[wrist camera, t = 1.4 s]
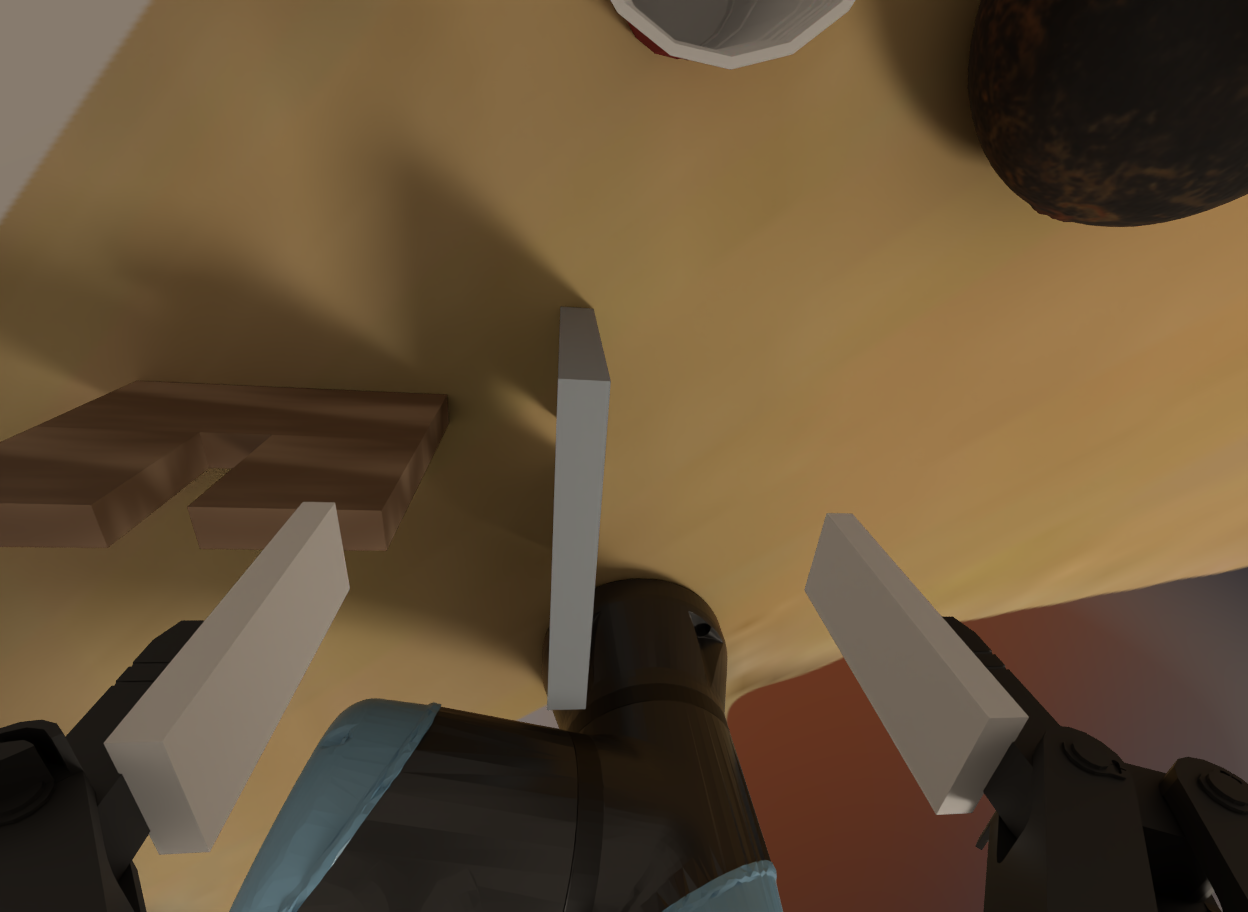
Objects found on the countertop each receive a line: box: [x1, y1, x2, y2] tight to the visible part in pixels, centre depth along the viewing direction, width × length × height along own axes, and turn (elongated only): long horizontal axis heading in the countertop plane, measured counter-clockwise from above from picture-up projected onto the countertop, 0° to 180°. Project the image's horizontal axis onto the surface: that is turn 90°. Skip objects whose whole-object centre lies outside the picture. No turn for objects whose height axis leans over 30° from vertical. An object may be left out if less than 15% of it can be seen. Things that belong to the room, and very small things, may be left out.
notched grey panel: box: [547, 307, 611, 710], centre depth 31 cm, size 18×2×14 cm, turn 175°
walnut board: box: [0, 381, 449, 551], centre depth 28 cm, size 2×18×14 cm, turn 85°
